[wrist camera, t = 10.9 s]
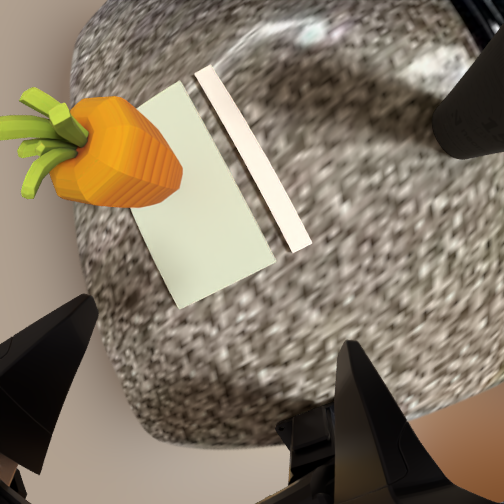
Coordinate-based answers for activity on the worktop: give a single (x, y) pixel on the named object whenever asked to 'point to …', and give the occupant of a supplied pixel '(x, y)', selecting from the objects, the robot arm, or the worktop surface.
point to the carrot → (94, 151)
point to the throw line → (255, 160)
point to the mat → (198, 210)
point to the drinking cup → (475, 107)
